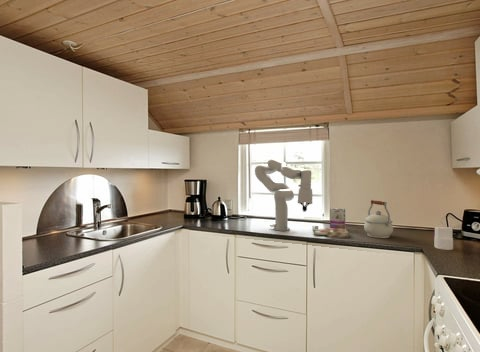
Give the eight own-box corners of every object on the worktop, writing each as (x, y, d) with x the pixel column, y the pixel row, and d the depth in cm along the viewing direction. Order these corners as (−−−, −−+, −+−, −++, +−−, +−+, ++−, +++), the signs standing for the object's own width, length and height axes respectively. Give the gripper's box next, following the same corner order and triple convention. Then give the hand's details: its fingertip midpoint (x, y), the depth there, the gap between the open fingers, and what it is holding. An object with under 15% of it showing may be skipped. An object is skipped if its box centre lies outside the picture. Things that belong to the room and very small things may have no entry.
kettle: (401, 239, 188) (401, 202, 188) (376, 240, 185) (376, 202, 185) (377, 231, 213) (377, 198, 213) (355, 232, 210) (355, 199, 210)
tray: (313, 234, 197) (313, 229, 197) (312, 230, 210) (312, 226, 210) (334, 235, 194) (334, 230, 194) (332, 231, 207) (332, 226, 207)
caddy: (327, 236, 194) (327, 231, 194) (325, 232, 208) (325, 228, 208) (348, 237, 192) (348, 232, 192) (345, 233, 205) (345, 228, 205)
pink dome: (320, 233, 199) (320, 230, 199) (319, 231, 206) (319, 228, 206) (330, 233, 197) (330, 230, 197) (329, 231, 204) (329, 229, 204)
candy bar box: (345, 229, 223) (345, 208, 223) (344, 230, 219) (344, 209, 219) (331, 227, 228) (331, 207, 228) (329, 228, 224) (329, 208, 224)
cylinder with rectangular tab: (445, 245, 170) (445, 226, 170) (457, 249, 161) (457, 229, 161) (430, 245, 170) (430, 226, 170) (441, 249, 161) (441, 229, 161)
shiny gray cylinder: (312, 231, 214) (312, 226, 214) (312, 230, 218) (312, 225, 218) (318, 231, 213) (318, 226, 213) (318, 230, 217) (318, 225, 217)
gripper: (295, 186, 202) (294, 211, 203) (316, 187, 199) (315, 212, 200) (295, 185, 209) (294, 210, 210) (315, 186, 207) (314, 211, 207)
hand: (304, 211), depth 205 cm, fingers closed
